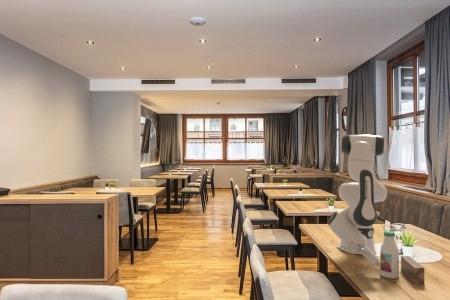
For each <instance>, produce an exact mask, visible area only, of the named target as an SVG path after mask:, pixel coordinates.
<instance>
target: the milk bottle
mask: <svg viewBox="0 0 450 300" xmlns="http://www.w3.org/2000/svg"><path fill="white" fill-rule="evenodd" d="M383 237H384V238H383V239H384V240H383V242H382V243H381V246H380V251H379V253H380V254H379V255H380V257H379V258H380V259H379V262H380V264H381V266H379V268H380V269H379V270H380V271H379V272H380V276H382V277H383V278H386V279H393V280H395V279H398V278H399V277H400V255H399V254H400V251H399V248H398V245H397V243H396V240H395V239H396V233H395V232H394V231H390V230H386V231H383Z"/></svg>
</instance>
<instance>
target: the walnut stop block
mask: <svg viewBox="0 0 450 300" xmlns="http://www.w3.org/2000/svg"><path fill="white" fill-rule="evenodd" d="M400 271H401V273H402V274H403V275H405V276H406V278H408V279H409V280H410V282H412V283H413V284H414V285H425V267H423V265H421V263H419V262H417V261H416V260H415V259H414V258H413V257H412V256H410V255H409V256H408V255H400Z"/></svg>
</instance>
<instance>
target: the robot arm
mask: <svg viewBox="0 0 450 300" xmlns="http://www.w3.org/2000/svg"><path fill="white" fill-rule="evenodd" d="M339 147H340V150H341V152H342V154H344V155H347V156H348V161H347V175H348V176H349V178H351V179H352V180H354V181H355V182H344V183H342V184H340V186H339V187H338V190H337V192H338V193H337V194H338V196H339V198H340V200H341V201H343V202H344V203H345V204H346V205H347V206H348V207H347V208H345V209H343V210H340V211H335V212H333V213H332V214H331V216H330V217H329V218H328V220H327V224H328V227H329V229H330V230H331V231H332V232H333V234H335V235H336V236H337V238H338V239H340V244H336V249H338V250H342V251H343V252H345V253H348V254H351V255H355V254H356V255H362V256H363V257H364V258H365V259H366V261H368V262H369V263H370V264H371V265H372V266H377V267H379V268H380V266H381V264H380V259H379V258H378V257H377V256H376V255H375V254H376V253H377V251H376V246H375V239H374V233H375V232H374V231H375V228H374V224H375V223H376V221H377V219H378V211H377V209H376V205H375V203H380V202H384V201H385V200H386V199H387V196H388V191H387V187H385V185H384V184H383V183H381V182H380V181H379V180H378V179H377V177H376V175H375V174H376V173H375V157H378V156H382V155H384V153H385V151H386V149H387V148H386V147H387V142H386V140H385V138H384V136H383V135H377V134H376V135H373V134H346V135H344V136H342V138H341V140H340V145H339Z"/></svg>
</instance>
